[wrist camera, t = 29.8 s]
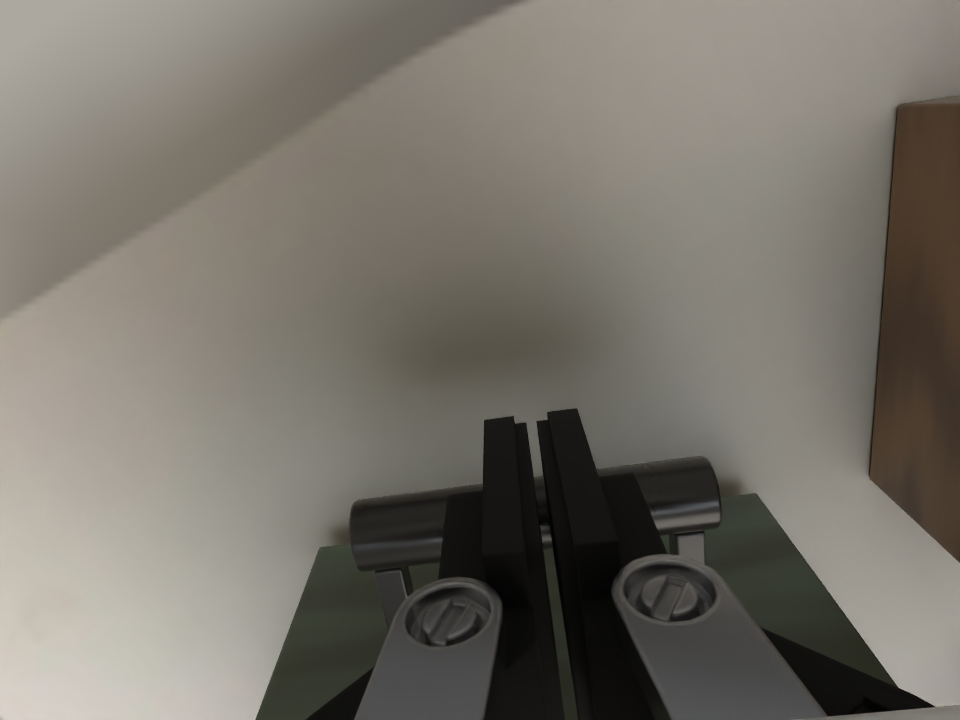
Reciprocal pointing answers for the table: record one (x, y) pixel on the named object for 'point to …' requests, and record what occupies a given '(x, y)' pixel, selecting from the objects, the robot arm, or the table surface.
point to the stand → (922, 325)
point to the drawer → (416, 560)
